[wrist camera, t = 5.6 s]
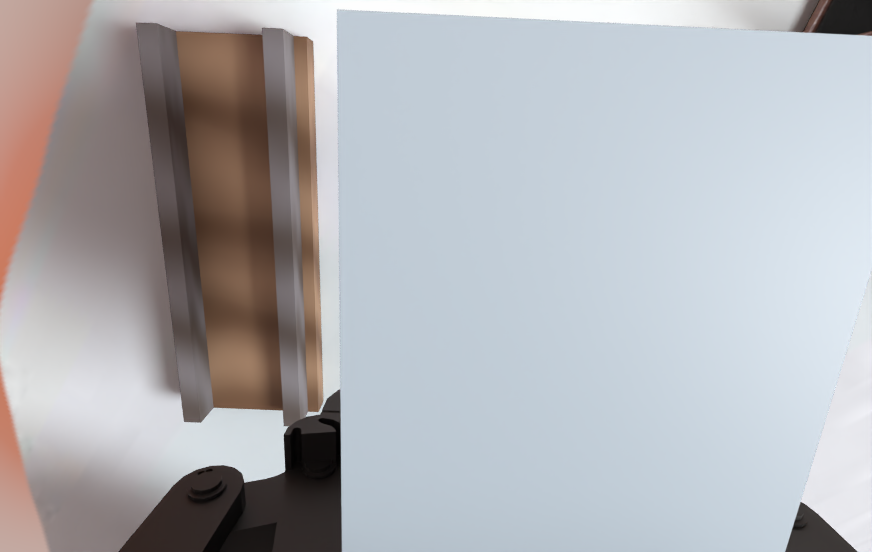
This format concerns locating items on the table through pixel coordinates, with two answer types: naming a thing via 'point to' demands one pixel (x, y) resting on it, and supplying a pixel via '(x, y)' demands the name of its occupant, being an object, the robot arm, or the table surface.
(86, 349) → the table surface
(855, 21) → the letter holder
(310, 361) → the floor track
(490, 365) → the sliding panel
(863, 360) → the table surface
